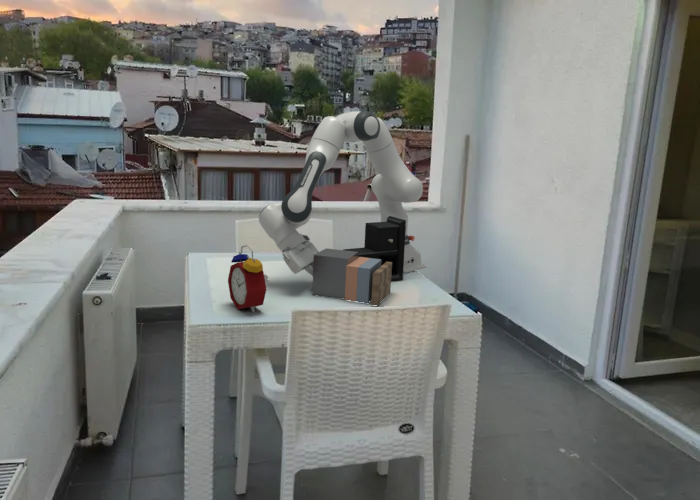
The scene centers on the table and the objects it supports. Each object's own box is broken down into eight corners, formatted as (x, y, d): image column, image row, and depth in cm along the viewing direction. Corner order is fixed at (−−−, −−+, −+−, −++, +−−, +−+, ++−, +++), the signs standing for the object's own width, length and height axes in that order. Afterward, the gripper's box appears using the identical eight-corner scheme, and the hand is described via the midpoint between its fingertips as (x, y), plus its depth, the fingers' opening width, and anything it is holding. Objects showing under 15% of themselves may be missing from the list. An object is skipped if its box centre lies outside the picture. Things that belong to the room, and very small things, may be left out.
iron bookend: (324, 286, 203) (326, 248, 200) (356, 290, 200) (358, 251, 197) (312, 295, 192) (313, 254, 189) (346, 299, 188) (347, 258, 186)
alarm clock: (227, 303, 179) (227, 241, 175) (252, 299, 184) (252, 239, 180) (247, 316, 167) (247, 250, 163) (273, 312, 172) (274, 248, 168)
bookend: (350, 286, 205) (353, 222, 200) (336, 279, 214) (338, 217, 209) (403, 280, 216) (407, 220, 212) (387, 274, 226) (391, 215, 221)
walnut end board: (384, 291, 200) (386, 261, 198) (390, 292, 199) (392, 262, 197) (371, 305, 183) (373, 273, 181) (377, 306, 182) (379, 273, 180)
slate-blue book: (368, 291, 200) (370, 258, 198) (379, 292, 199) (381, 259, 196) (356, 302, 186) (358, 267, 184) (368, 304, 185) (369, 268, 182)
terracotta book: (357, 289, 201) (359, 256, 199) (368, 291, 200) (370, 258, 198) (344, 301, 187) (346, 265, 185) (356, 302, 186) (357, 267, 183)
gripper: (286, 244, 187) (312, 277, 186) (309, 235, 206) (333, 264, 205) (273, 256, 189) (299, 288, 188) (297, 245, 208) (321, 274, 207)
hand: (317, 275), depth 197 cm, fingers closed, pressing on iron bookend
